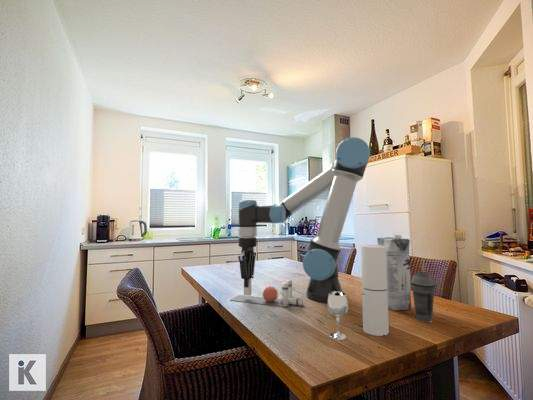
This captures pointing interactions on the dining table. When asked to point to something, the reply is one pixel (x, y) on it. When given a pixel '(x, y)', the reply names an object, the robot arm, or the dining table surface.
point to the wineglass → (337, 310)
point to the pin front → (294, 301)
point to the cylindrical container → (374, 289)
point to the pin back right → (289, 288)
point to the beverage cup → (423, 295)
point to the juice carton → (397, 272)
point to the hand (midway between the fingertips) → (247, 294)
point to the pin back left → (285, 294)
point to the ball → (270, 294)
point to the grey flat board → (256, 300)
